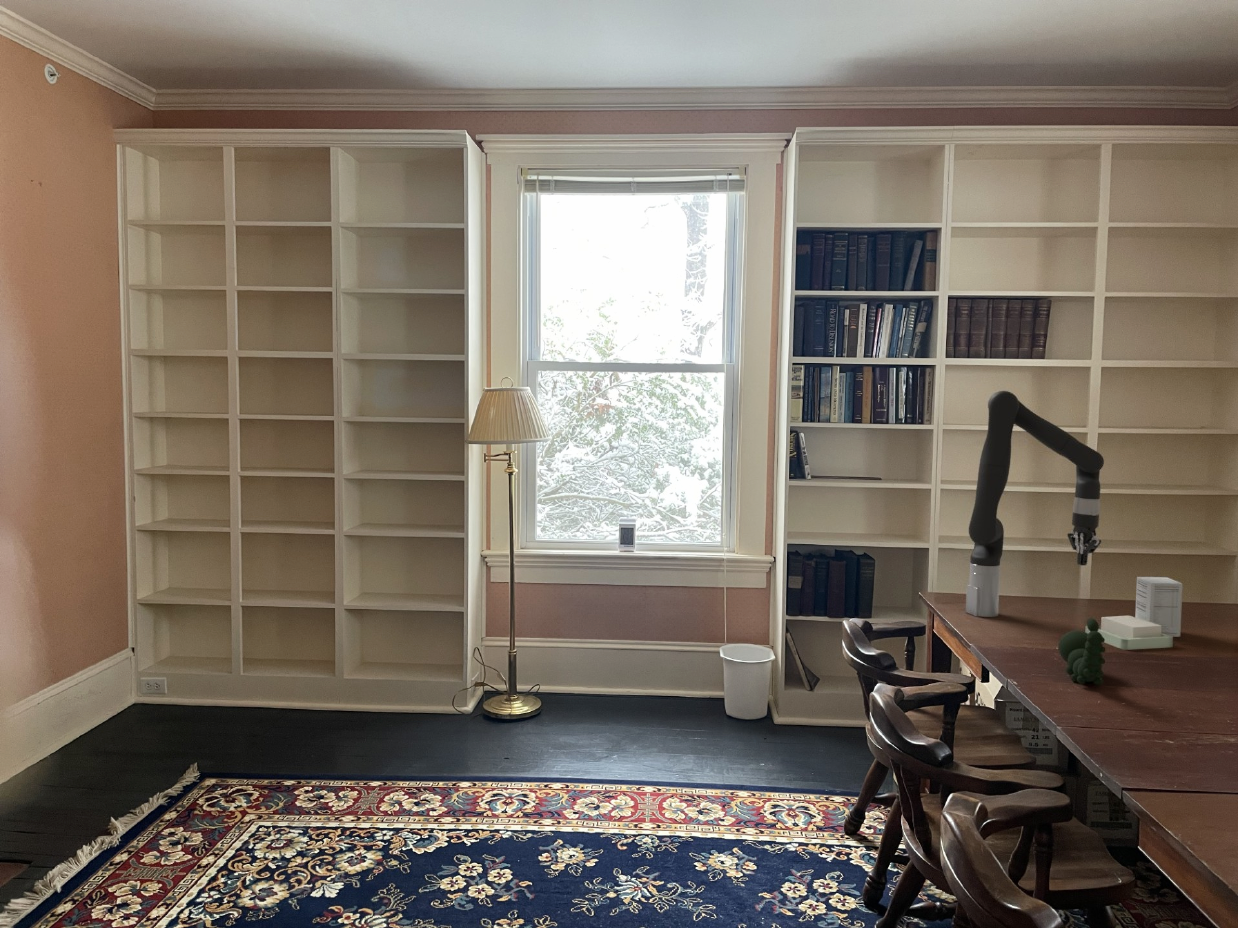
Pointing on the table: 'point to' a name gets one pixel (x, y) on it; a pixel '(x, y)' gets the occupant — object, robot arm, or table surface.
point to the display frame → (1136, 641)
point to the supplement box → (1160, 603)
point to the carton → (1130, 627)
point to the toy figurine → (1083, 654)
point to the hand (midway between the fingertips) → (1081, 564)
